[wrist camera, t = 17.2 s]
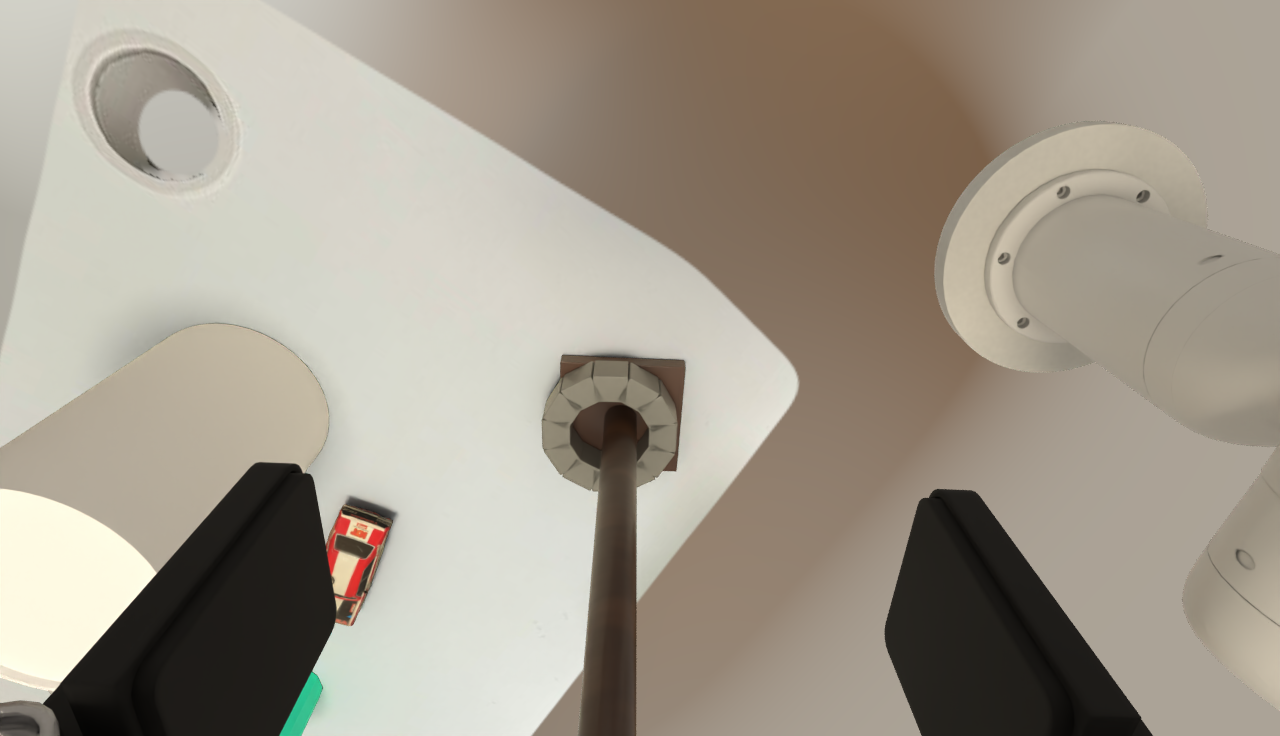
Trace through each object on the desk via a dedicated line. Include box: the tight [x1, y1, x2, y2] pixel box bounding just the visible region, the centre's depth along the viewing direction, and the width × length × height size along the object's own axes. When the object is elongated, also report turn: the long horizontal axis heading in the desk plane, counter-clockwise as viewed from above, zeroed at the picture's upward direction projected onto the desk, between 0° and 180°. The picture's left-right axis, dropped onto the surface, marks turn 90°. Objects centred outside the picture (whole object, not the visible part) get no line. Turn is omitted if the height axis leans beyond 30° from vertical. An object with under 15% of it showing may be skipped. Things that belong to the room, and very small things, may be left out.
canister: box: [0, 324, 329, 691], centre depth 44 cm, size 14×14×20 cm
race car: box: [326, 504, 393, 626], centre depth 58 cm, size 5×12×5 cm, turn 151°
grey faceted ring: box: [542, 360, 677, 491], centre depth 51 cm, size 10×10×3 cm
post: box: [560, 355, 685, 736], centre depth 41 cm, size 9×9×29 cm
